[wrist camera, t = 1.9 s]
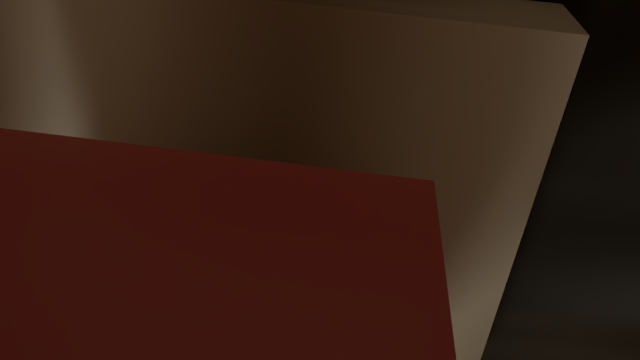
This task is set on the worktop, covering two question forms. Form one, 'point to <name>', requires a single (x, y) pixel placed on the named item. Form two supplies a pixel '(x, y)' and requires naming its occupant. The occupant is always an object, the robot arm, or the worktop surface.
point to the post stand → (321, 99)
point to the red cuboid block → (212, 257)
